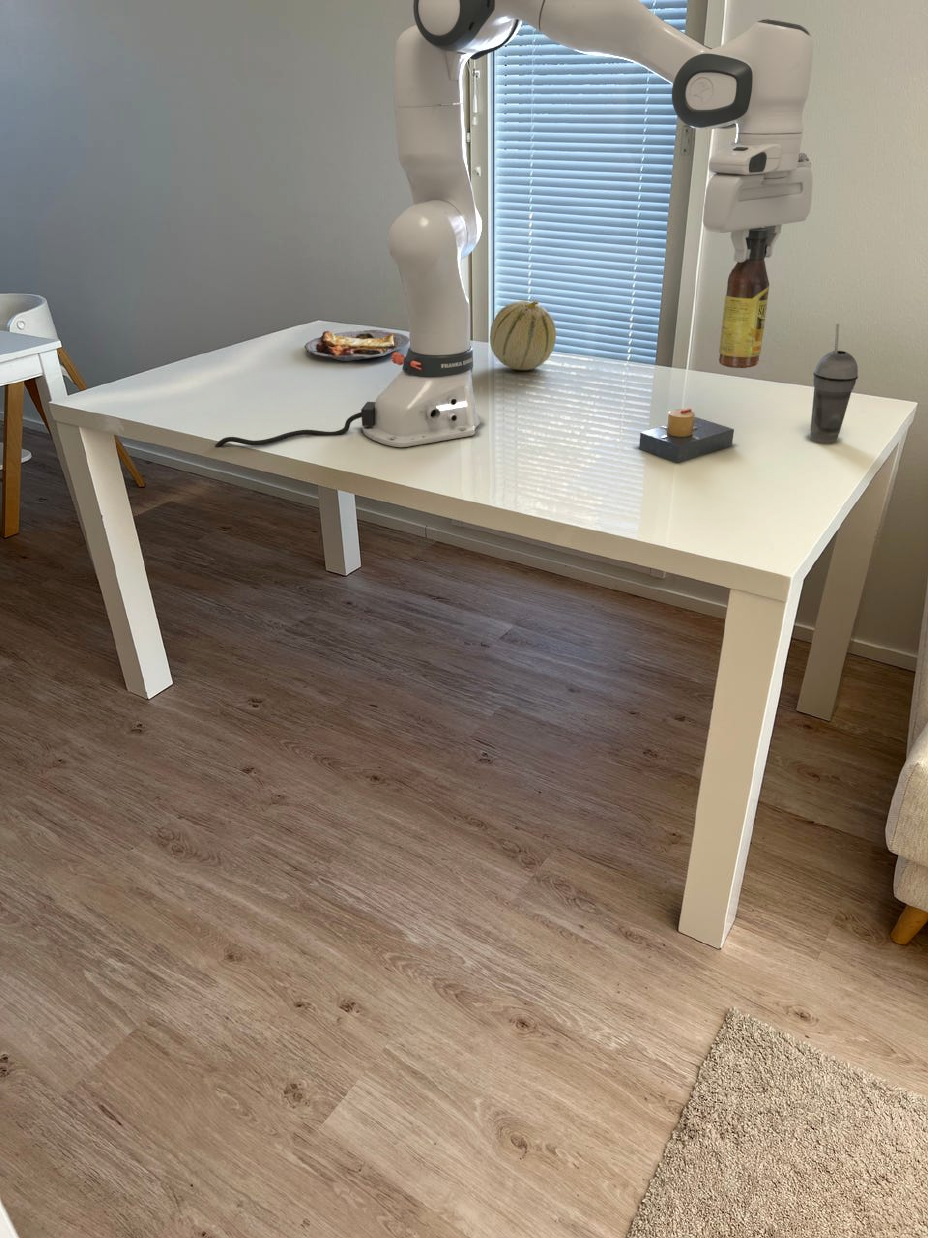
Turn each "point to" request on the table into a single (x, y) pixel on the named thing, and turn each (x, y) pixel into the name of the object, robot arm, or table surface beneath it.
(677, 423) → the tan cylinder
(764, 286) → the sauce bottle
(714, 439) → the grey dial panel
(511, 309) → the cantaloupe
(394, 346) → the food plate
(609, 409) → the table surface
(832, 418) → the beverage cup
